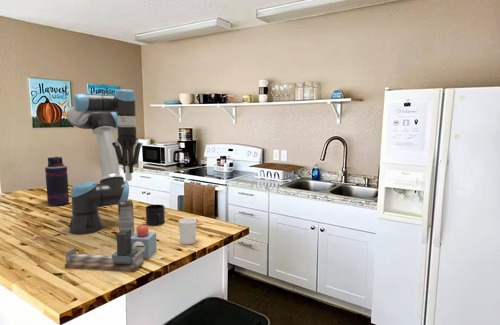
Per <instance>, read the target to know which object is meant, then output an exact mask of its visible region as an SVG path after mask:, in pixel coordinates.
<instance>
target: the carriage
mask: <svg viewBox="0 0 500 325" xmlns="http://www.w3.org/2000/svg"><path fill="white" fill-rule="evenodd" d="M136 254H137V250H131V230H122V231H120V232H119V231H118V233H117V234H116V251H115V252H114V253H112V255H111V256H112V260H113V263H115V264H132V258H133V257H134V256H135V255H136Z"/></svg>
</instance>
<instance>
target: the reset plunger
mask: <svg viewBox="0 0 500 325" xmlns="http://www.w3.org/2000/svg"><path fill="white" fill-rule="evenodd" d="M148 232H149V225H147V224H141V225H137V226H136V233H137V236H138V237H145V236H148Z"/></svg>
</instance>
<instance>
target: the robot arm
mask: <svg viewBox="0 0 500 325" xmlns="http://www.w3.org/2000/svg"><path fill="white" fill-rule="evenodd" d="M135 93H136V92H135V91H134V90H132V89H125V88H124V89H116V90H115V94H93V93H92V94H91V93H75V94H74V95H73V98H72V99H73V100H72V105H73V106H72V107H70V108H69V109H68V110H67V112H66V119H67V122H68V123H69V124H70V125H72V126H74V127H76V128H78V129H83V130H92V133H93V135H95V136H96V143H97V149H98V156H99V163H100V170H101V179H100V180H99V183H98V182H97V181H94V180H91V181H90V180H89V181H84V182H79V183H77V184H74V185H73V186H72V187H71V189H70V197H71V211H72V212H71V214H72V217H71V220H70V222H69V226H68V229H69V233H71V234H74V235H83V234H84V235H86V234H92V233H96V232H98V231H100V230H102V229H104V228H103V227H104V223H103V221H102V218H101V216H100V213H99V208H103V207H108V206H110V207H111V206H115V205H116V206H118V201H129V200H128V199H129V195H130V185H129V182H131V181H132V180H133V178H132V176H133V175H132V174H133V173H134V166H135V165H137V164H138V161H139V158H140V151H141V148H142V146H143V144H144V143H143V142H140V141H139V140H138V138H137V128H136V127H137V126H136V125H137V120H136V119H137V118H136V116H137V115H136V94H135ZM116 130H117V138H116V140H115V136H114V135H115V134H114V133H116ZM134 146H135V147H134ZM119 165H122V166H123V167H122V168H123V169H122V170H123V173H124V174H125V179H124V177H123V176H122V175H121V173H120V166H119Z"/></svg>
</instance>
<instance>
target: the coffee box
mask: <svg viewBox="0 0 500 325" xmlns="http://www.w3.org/2000/svg"><path fill="white" fill-rule="evenodd" d="M117 212H118V215H117V216H118V228H119V230H118V233H119V232H120V231H122V230H131V237H132V236H133V235H134V234H135V216H134V214H135V212H134V203H133V201H132V200H131V199H130V200H127V201H118V205H117Z"/></svg>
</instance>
